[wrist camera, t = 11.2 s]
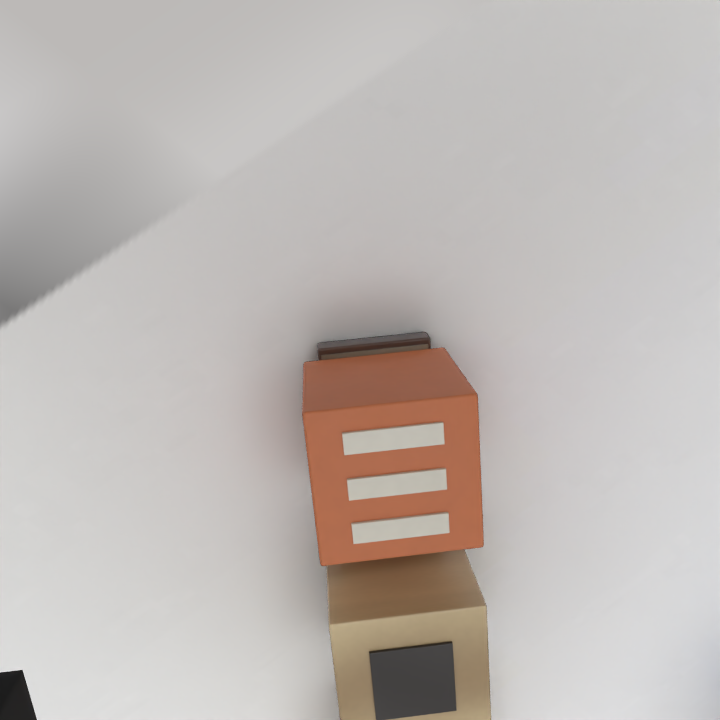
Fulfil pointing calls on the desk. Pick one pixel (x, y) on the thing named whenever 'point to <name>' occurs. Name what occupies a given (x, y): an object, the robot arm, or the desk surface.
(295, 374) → the desk surface
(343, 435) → the striped orange block
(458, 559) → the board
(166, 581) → the desk surface
